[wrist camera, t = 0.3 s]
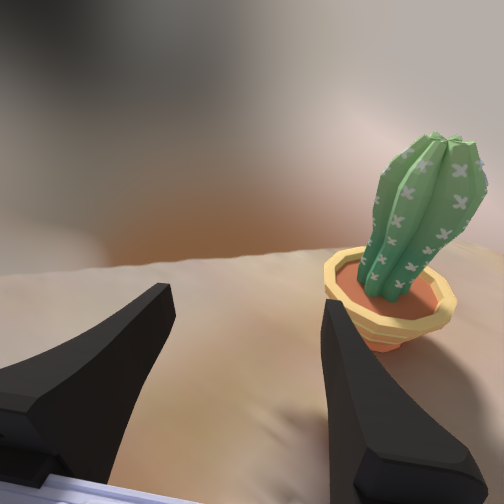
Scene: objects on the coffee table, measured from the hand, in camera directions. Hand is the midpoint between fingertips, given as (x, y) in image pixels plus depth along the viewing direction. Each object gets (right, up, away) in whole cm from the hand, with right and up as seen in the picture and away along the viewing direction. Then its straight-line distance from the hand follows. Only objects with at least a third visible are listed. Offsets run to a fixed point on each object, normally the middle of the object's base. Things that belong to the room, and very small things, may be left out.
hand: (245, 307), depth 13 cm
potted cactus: (+17, -8, +27) cm, 33 cm away
